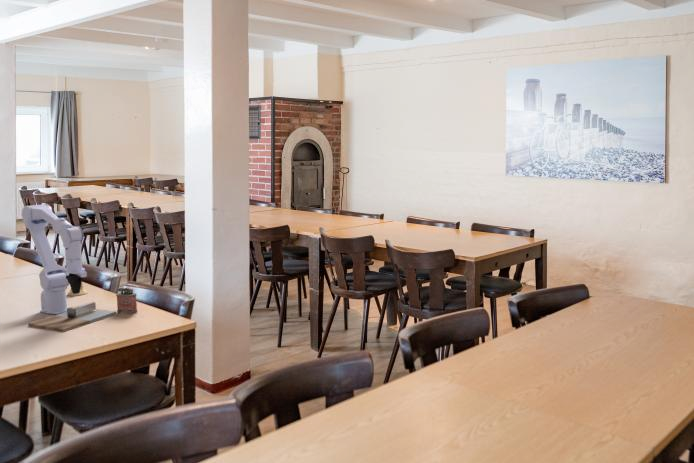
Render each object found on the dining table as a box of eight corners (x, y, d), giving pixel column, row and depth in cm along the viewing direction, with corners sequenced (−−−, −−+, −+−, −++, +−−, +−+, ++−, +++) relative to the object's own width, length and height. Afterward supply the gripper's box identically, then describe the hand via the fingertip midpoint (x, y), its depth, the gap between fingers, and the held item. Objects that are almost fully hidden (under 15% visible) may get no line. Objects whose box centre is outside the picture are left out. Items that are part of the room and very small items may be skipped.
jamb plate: (28, 326, 255) (28, 323, 255) (54, 318, 266) (54, 315, 266) (64, 331, 247) (64, 329, 247) (89, 323, 258) (89, 320, 258)
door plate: (54, 318, 266) (54, 315, 266) (82, 309, 278) (81, 306, 278) (89, 323, 258) (89, 320, 258) (116, 314, 271) (116, 311, 271)
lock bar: (71, 318, 260) (70, 309, 259) (65, 317, 261) (65, 308, 261) (97, 310, 271) (96, 301, 271) (91, 309, 273) (91, 301, 272)
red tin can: (138, 311, 275) (137, 286, 273) (135, 313, 271) (134, 288, 270) (119, 310, 276) (117, 286, 274) (115, 313, 272) (114, 288, 271)
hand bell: (83, 296, 302) (80, 260, 299) (64, 296, 302) (61, 260, 299) (90, 291, 310) (88, 256, 308) (72, 291, 310) (69, 256, 308)
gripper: (93, 259, 262) (95, 293, 264) (74, 255, 272) (76, 288, 274) (75, 261, 257) (78, 297, 259) (56, 257, 266) (59, 291, 268)
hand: (76, 293), depth 266 cm, fingers closed
